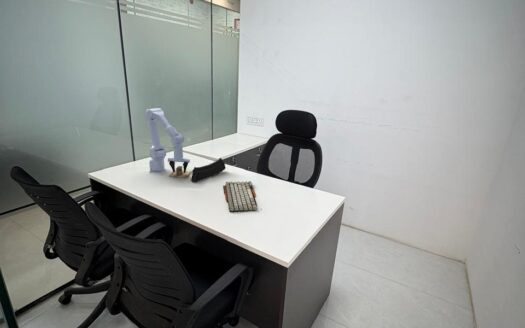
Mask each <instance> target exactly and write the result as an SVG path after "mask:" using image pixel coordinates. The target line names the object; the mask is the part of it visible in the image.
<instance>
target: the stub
mask: <svg viewBox="0 0 525 328" xmlns="http://www.w3.org/2000/svg"><path fill="white" fill-rule="evenodd" d="M182 167H183V165H178V166H177V167H175V170H176V171H175V172H173V171H172V172H171V173H170V174H169V175H168V176H169V177H168V178H183V179H187V178H188V177H190V175H191V174H192V173H191V172H185V173H184V172H182Z"/></svg>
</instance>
